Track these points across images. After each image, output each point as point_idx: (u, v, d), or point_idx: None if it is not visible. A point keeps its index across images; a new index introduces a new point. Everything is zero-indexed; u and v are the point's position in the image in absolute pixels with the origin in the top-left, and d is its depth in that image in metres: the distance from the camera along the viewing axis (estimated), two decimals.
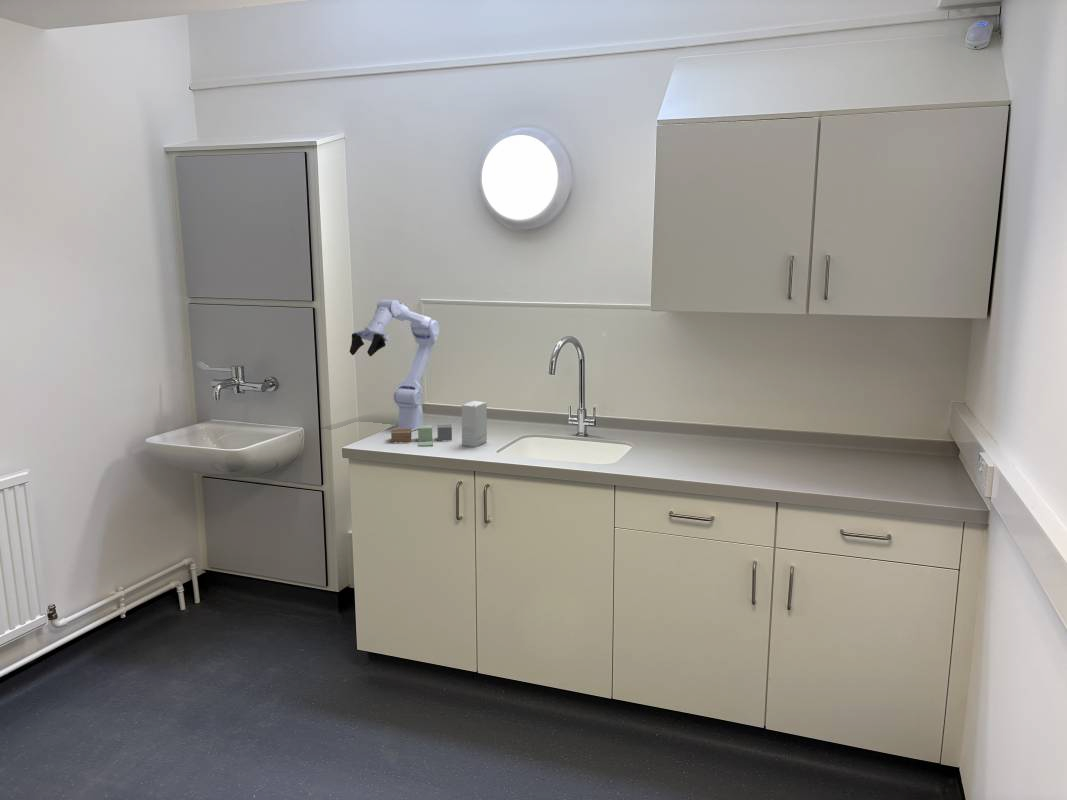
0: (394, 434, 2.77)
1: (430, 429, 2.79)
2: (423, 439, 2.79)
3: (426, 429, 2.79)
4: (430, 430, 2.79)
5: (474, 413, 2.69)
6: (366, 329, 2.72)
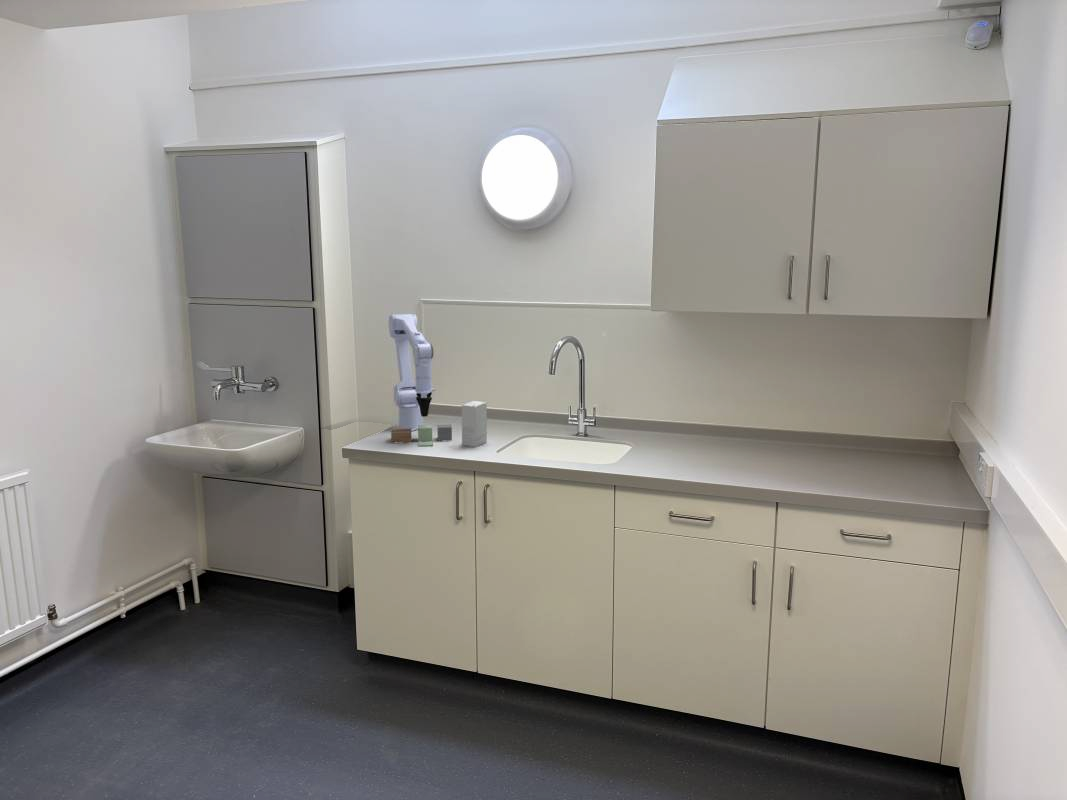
0: (394, 434, 2.77)
1: (430, 429, 2.79)
2: (423, 439, 2.79)
3: (426, 429, 2.79)
4: (430, 430, 2.79)
5: (474, 413, 2.69)
6: (433, 390, 2.79)
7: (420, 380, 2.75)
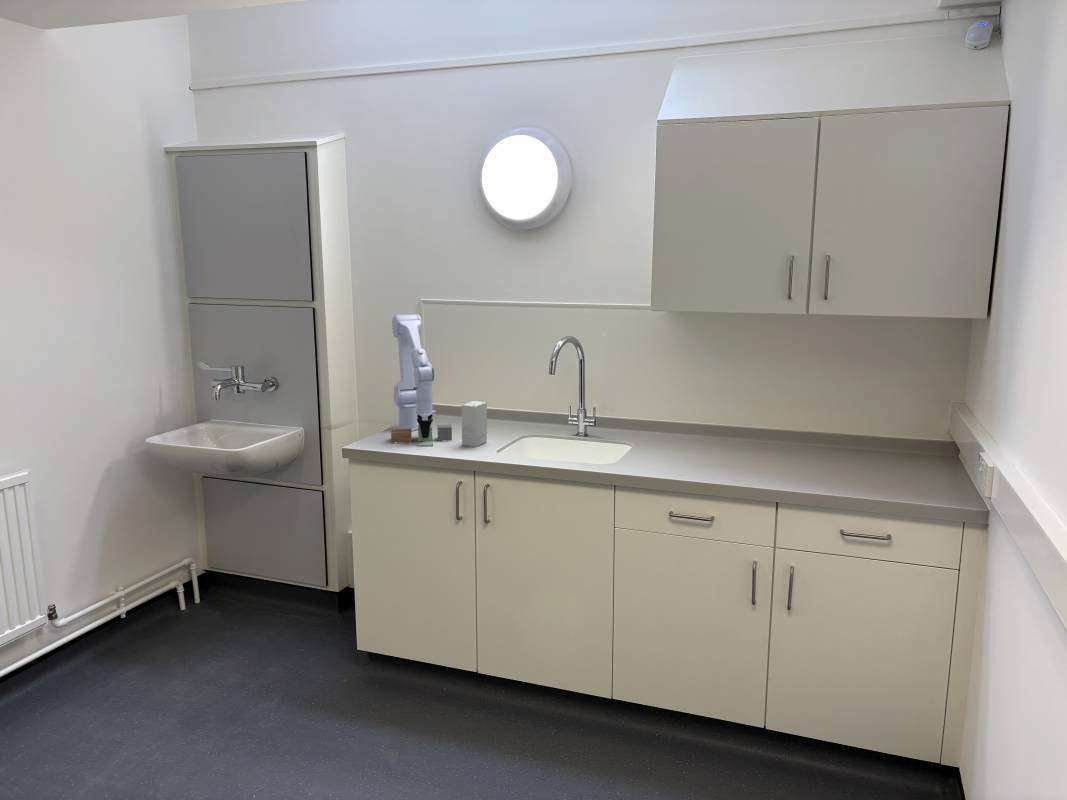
0: (394, 434, 2.77)
1: (430, 429, 2.79)
2: (423, 439, 2.79)
3: None
4: (430, 430, 2.79)
5: (474, 413, 2.69)
6: (433, 412, 2.80)
7: (421, 402, 2.77)
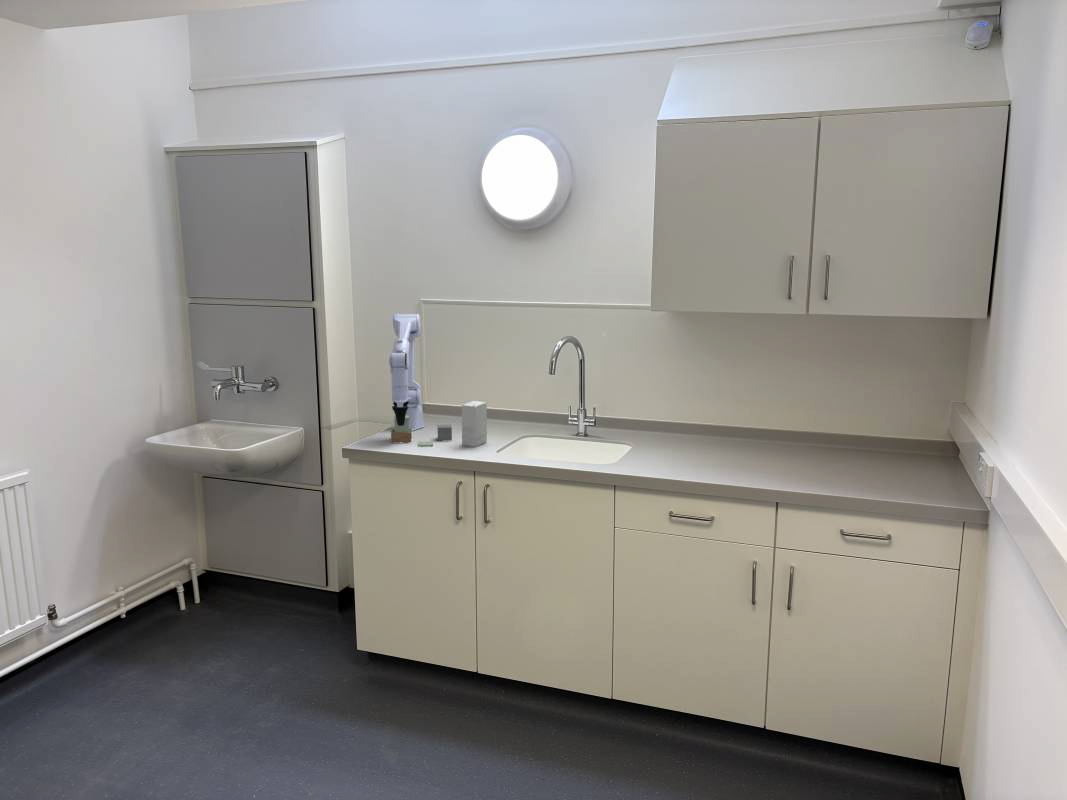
0: (394, 434, 2.77)
1: (406, 419, 2.77)
2: (399, 429, 2.78)
3: None
4: (407, 420, 2.77)
5: (474, 413, 2.69)
6: (409, 399, 2.78)
7: (396, 389, 2.75)
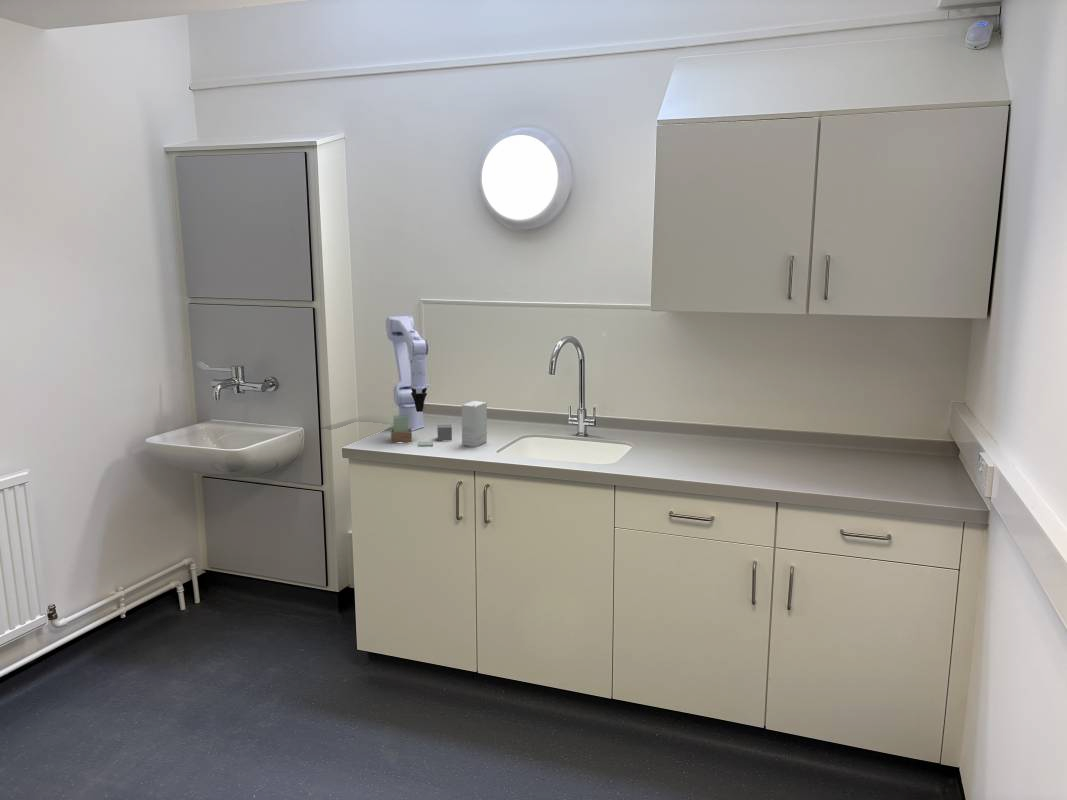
0: (394, 434, 2.76)
1: (406, 419, 2.77)
2: (399, 429, 2.78)
3: (402, 419, 2.77)
4: (406, 420, 2.77)
5: (474, 413, 2.69)
6: (428, 386, 2.83)
7: (415, 376, 2.79)
